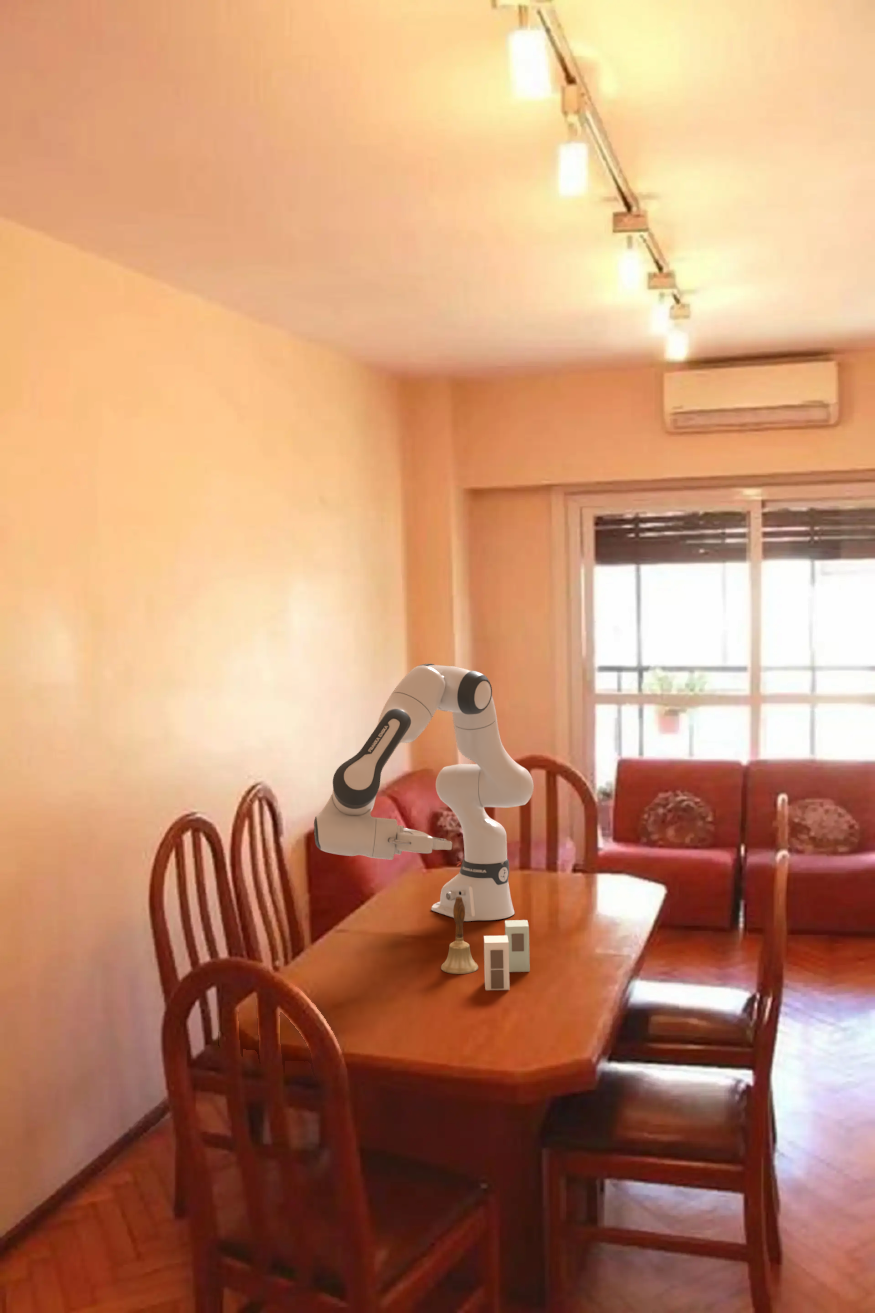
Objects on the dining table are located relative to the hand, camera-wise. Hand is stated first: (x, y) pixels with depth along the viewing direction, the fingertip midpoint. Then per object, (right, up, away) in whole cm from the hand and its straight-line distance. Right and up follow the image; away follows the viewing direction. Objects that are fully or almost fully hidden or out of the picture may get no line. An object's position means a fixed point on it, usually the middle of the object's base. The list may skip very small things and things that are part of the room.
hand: (449, 844), depth 252 cm
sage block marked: (+15, -27, -1) cm, 31 cm away
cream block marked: (+10, -28, -12) cm, 32 cm away
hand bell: (+2, -28, 0) cm, 28 cm away
